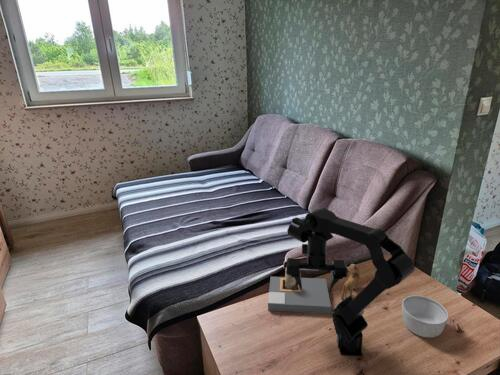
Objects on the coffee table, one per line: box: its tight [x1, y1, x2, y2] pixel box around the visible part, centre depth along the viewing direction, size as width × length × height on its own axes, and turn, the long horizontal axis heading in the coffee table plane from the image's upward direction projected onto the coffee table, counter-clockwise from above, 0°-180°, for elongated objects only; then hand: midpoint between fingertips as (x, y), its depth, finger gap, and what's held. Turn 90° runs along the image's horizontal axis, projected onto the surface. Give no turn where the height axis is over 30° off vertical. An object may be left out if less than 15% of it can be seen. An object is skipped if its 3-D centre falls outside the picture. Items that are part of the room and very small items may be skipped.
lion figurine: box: [340, 263, 360, 300], centre depth 117 cm, size 15×5×9 cm, turn 155°
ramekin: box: [401, 294, 449, 339], centre depth 100 cm, size 13×13×7 cm
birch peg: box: [284, 267, 297, 290], centre depth 118 cm, size 4×4×10 cm
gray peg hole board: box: [267, 276, 332, 315], centre depth 116 cm, size 22×16×3 cm
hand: (315, 289), depth 100 cm, fingers open, 9 cm apart
